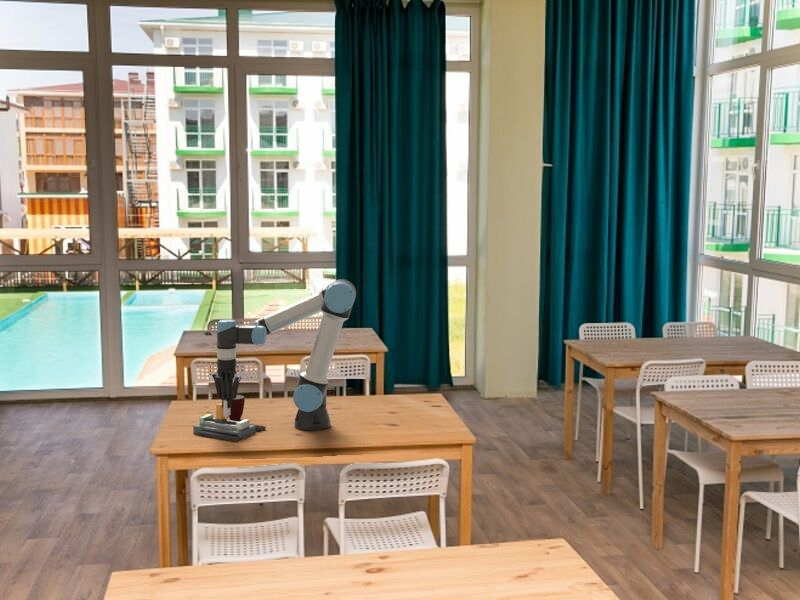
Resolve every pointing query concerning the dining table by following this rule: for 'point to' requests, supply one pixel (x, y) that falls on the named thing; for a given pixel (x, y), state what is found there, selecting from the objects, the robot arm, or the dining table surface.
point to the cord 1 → (218, 435)
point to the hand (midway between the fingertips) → (227, 415)
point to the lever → (220, 414)
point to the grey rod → (258, 428)
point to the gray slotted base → (225, 427)
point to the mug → (237, 408)
